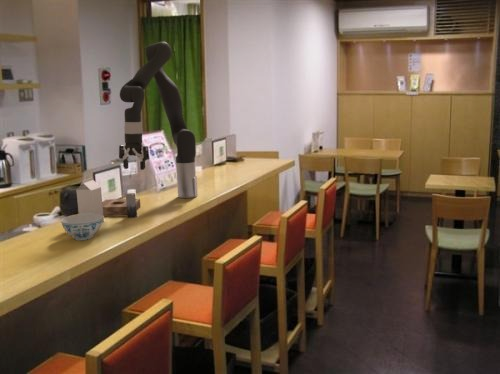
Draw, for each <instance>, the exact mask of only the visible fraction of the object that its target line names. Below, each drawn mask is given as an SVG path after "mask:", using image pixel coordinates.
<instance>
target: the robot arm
mask: <svg viewBox="0 0 500 374" xmlns="http://www.w3.org/2000/svg"><path fill="white" fill-rule="evenodd" d="M172 52H173V51H172V48H171V45H170V44H169V43H167V42H166V41H159V42H155V43H151V44H148V45H146V47H145V57H146V61H147V62H146V63H145V64H144V65H142V66H141V67H140V68H139V69H138V70H137V72H136V73H135V74H134V76H133V78H132V79H130V80H128V81H127V82H125V84H124V85H123V86H122V87H121V89H120V91H119V98H120V100H121V101H122V102H123V103H133V104H132V106H131V107H127V108H125V109H124V127H123V128H124V143H125V144H120V145H119V146H118V158H119V159H120V160H122V161H123V162H122V164H123V165H122V166H123V168H124V169H125V170H127V169H129V158H130V157H131V156H133V157H134V156H135V157H137V158H138V160H139V161H140V162H139V164H140V165H139V167H140V171H143V170H145V169H146V161H147V160H149V159H150V154H149V153H150V152H149V150H150V149H149V146H148V145H145V146H144V145H142V144H143V126H142V115H141V114H142V110H143V109H142V108H143V105H144V100H145V90H146V88H148V86H149V84H150V83H151V81H152V79H153V78H154V80H155V83H156V86H157V90H158V92H159V96H160V99H161V103H162V105H163V108H164V109H163V110H164V111H165V114H166V117H167V120H168V123H169V128H170V133H171V137H172V141H173V143H174V145H176V150H177V151H176V153H177V154H176V157H175V168H176V184H177V185H176V186H177V197H178V198H181V199H191V198H197V196H198V195H199V194H198V181H197V179H198V178H197V175H196V162H195V161H196V155H197V152H196V151H197V150H196V149H197V148H196V146H197V145H196V144H197V143H196V138H195V137H196V136H195V134H194V133H193V132H192V131H191V130H189V129H188V128H187V125H186V123H185V119H184V114H183V102H182V98H181V97H182V96H181V94H180V93H181V92H180V91H179V88H178V85H176V84H175V82H174V81H173V80H172V79H171V78H170V77H169V76H168V75H167V74H166V72H165V71H164V68H163V66H164V65H165V64H166V63H168V61H170V59H171V58H172Z"/></svg>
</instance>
